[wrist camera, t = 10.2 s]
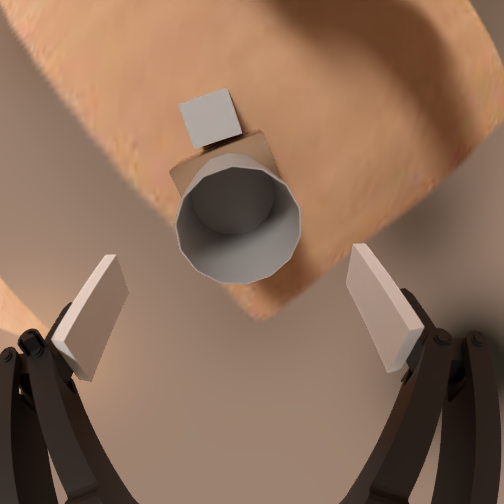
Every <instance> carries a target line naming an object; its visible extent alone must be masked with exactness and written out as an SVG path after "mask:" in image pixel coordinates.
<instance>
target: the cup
mask: <svg viewBox="0 0 504 504" xmlns="http://www.w3.org/2000/svg"><path fill="white" fill-rule="evenodd" d="M174 225H175V230H176V235H177V240H178V244H179V249H180V252H181V253H182V254H183V255H184V257H185V258H186V259H187V260H188V262H189V263H190V264H191V265H192V267H193V268H194V269H195V270H196V271H197V272H199V273H201V274H203V275H205V276H207V277H209V278H211V279H213V280H215V281H217V282H219V283H228V284H244V285H246V284H249V283H252V282H255V281H258V280H261V279H264V278H267V277H270V276H272V275H273V274H274V273H275V272H276V271H277V270H278V269H280V268H281V267H282V266H283V265H284V264H285V263H286V262H288V261H289V260H290V259H291V257H292V255H293V252H294V250H295V248H296V246H297V244H298V241H299V239H300V237H301V208H300V207H299V205H298V203H297V201H296V199H295V197H294V196H293V194H292V192H291V190H290V188H289V187H288V185H287V184H286V183H285V182H284V181H283V180H281V179H280V178H279V177H278V176H276V175H275V174H274V173H273V172H272V171H270V170H269V169H268V168H267V167H265V166H264V165H263V164H261V163H260V162H258V161H256V160H255V159H253V158H252V157H250V156H249V155H244V154H235V153H226V154H223V155H221V156H218V157H215V158H212V159H210V160H209V161H208V162H207V163H206V164H205V165H204V166H203V167H202V168H201V169H200V170H199V171H198V172H197V173H196V175H195V176H194V178H193V180H192V181H191V183H190V185H189V186H188V188H187V190H186V191H185V193H184V195H183V197H182V199H181V203H180V206H179V210H178V213H177V217H176V220H175V224H174Z"/></svg>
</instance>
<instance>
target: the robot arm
mask: <svg viewBox="0 0 504 504" xmlns="http://www.w3.org/2000/svg"><path fill="white" fill-rule="evenodd" d="M346 286H347V288H348V290H349V292H350V294H351V296H352V298H353V300H354V302H355V304H356V306H357V308H358V310H359V312H360V315H361V316H362V318H363V321H364V323H365V325H366V327H367V329H368V331H369V333H370V336H371V338H372V340H373V342H374V344H375V346H376V349H377V351H378V353H379V356H380V358H381V360H382V362H383V365H384V367H385V369H386V371H387V373H389V372H393V371H397V370H401V369H402V367H403V366H404V364H405V362H407V364H408V366H409V369H408V370H407V372H406V373H405V375H404V377H403V378H402V380H401V382H403V384H402V386H401V389H400V391H399V394H398V397H397V399H396V402H395V404H394V407H393V409H392V411H391V414H390V416H389V418H388V421H387V423H386V425H385V427H384V429H383V431H382V433H381V436H380V438H379V440H378V442H377V444H376V446H375V447H374V450H373V451H372V453H371V455H370V457H369V459H368V461H367V462H366V464H365V466H364V468H363V469H362V471H361V473H360V474H359V476H358V478H357V479H356V481H355V483H354V484H353V486H352V487H351V489H350V490H349V492H348V494H347V495H346V496H345V498H344V499H343V500H342V501H341V502H340V503H339V504H409V502H408V498H409V496H410V494H411V491H412V489H413V487H414V485H415V483H416V481H417V478H418V476H419V474H420V471H421V469H422V467H423V464H424V462H425V459H426V456H427V454H428V451H429V448H430V445H431V442H432V439H433V436H434V433H435V430H436V426H437V423H438V420H439V416H440V412H441V409H442V431H441V443H440V453H439V462H438V469H437V475H436V481H435V487H434V492H433V497H432V501H431V504H497V498H498V491H499V481H500V470H501V423H500V410H499V401H498V392H497V385H496V379H495V374H494V368H493V363H492V358H491V353H490V349H489V346H488V341H487V339H486V337H485V336H484V335H483V334H482V333H481V332H479V331H476V330H471V331H469V332H468V333H467V335H466V337H465V338H452V336H451V335H450V334H449V333H448V332H447V331H445V330H444V329H440V328H436V327H435V326H434V324H433V323H432V321H431V319H430V318H429V317H428V315H427V314H426V312H425V311H424V309H422V306H421V305H420V304H419V303H418V301H417V300H416V298H415V297H414V295H413V294H412V293H410V292H409V291H408V290H407V289H405V288H404V289H399V288H398V287H397V285H396V284H395V283H394V281H393V280H392V278H391V277H390V275H389V274H388V273H387V271H386V270H385V269H384V267H383V266H382V265H381V263H380V262H379V261H378V259H377V258H376V257H375V255H374V254H373V253H372V252H371V250H370V249H369V248H368V246H367V245H366V244H365V243H360V244H353V246H352V252H351V258H350V264H349V269H348V274H347V279H346ZM128 294H129V292H128V289H127V286H126V283H125V280H124V277H123V274H122V271H121V267H120V264H119V261H118V258H117V255H105V256H104V258H103V259H102V260H101V262H100V263H99V265H98V266H97V268H96V269H95V270H94V272H93V273H92V274H91V276H90V277H89V279H88V280H87V282H86V283H85V285H84V286H83V288H82V289H81V291H80V292H79V294H78V295H77V297H76V298H75V300H74V301H73V302H70V303H69V304H68V305H67V306H66V307H65V308H64V309H63V310H62V312H61V313H60V315H59V317H58V318H57V320H56V321H55V322H56V323H54V325H53V326H52V328H51V330H50V331H49V333H48V335H47V336H46V338H45V340H44V339H43V337H42V336H41V334H40V333H39V331H38V330H37V329H29V330H27V331H25V332H24V333H23V334H22V335H21V336H20V337H19V339H18V346H19V347H20V349H21V350H22V351H23V354H19V353H18V352H17V351H16V349H15V348H13V347H8V348H6V349H4V350H3V351H2V352H1V354H0V504H58V500H57V496H56V493H55V488H54V484H53V479H52V474H51V469H50V463H49V456H48V451H49V454H50V456H51V459H52V462H53V464H54V467H55V469H56V472H57V474H58V476H59V479H60V481H61V483H62V485H63V487H64V490H65V492H66V494H67V497H68V500H67V501H66V502H65V504H139V503H138V502H136V500H135V499H134V498H133V497H132V495H131V494H130V492H129V491H128V490H127V488H126V486H125V485H124V483H123V482H122V481H121V479H120V477H119V476H118V474H117V472H116V471H115V469H114V467H113V466H112V464H111V462H110V460H109V458H108V457H107V455H106V453H105V451H104V449H103V447H102V445H101V444H100V441H99V439H98V437H97V435H96V434H95V431H94V429H93V427H92V425H91V423H90V420H89V418H88V416H87V414H86V411H85V409H84V407H83V404H82V401H81V399H80V396H79V394H78V391H77V389H76V386H75V383H74V381H73V379H72V378H71V376H72V374H73V372H74V373H75V375H76V376H77V377H78V378H79V379H80V380H85V381H90V382H92V379H93V377H94V374H95V371H96V369H97V366H98V364H99V361H100V358H101V356H102V353H103V351H104V348H105V346H106V344H107V341H108V339H109V336H110V334H111V332H112V329H113V327H114V325H115V323H116V320H117V318H118V316H119V313H120V311H121V309H122V307H123V305H124V303H125V301H126V299H127V296H128ZM19 388H20V389H21V394H19ZM47 448H48V449H47Z"/></svg>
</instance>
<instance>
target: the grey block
mask: <svg viewBox="0 0 504 504" xmlns="http://www.w3.org/2000/svg"><path fill="white" fill-rule="evenodd" d="M179 108H180V111H181V114H182V117H183V119H184V122H185V125H186V128H187V131H188V133H189V136H190V139H191V142H192V144H193V147H194V149H197V148H200V147H202V146H205V145H208V144H211V143H214V142H217V141H220V140H223V139H226V138H229V137H232V136H236V135H239V134H242V130H241V127H240V124H239V121H238V118H237V115H236V112H235V109H234V106H233V103H232V100H231V97H230V94H229V91H228V89H227V88H224V89H221V90H218V91H215V92H212V93H209V94H206V95H203V96H200V97H197V98H195V99H192V100H189V101H187V102H184V103H181V104H179Z"/></svg>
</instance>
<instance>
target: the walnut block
mask: <svg viewBox="0 0 504 504" xmlns="http://www.w3.org/2000/svg"><path fill="white" fill-rule="evenodd" d="M226 153H235V154H244V155H249V156H250V157H252V158H253V159H255V160H256V161H258V162H260V163H261V164H263V165H264V166H265V167H267V168H268V169H269V170H270V171H272V172H273V173H274V174H275V175H276V176H278V177H279V178H280V176H279V173H278V170H277V167H276V165H275V162H274V159H273V157H272V154H271V151H270V149H269V146H268V143H267V141H266V138H265V135H264V133H263V132H262V131H261V130H259V129H258V130H255V131H252V132H250V133H247V134H244V135H242V136H239V137H236V138H234V139H231V140H229V141H226V142H224V143H221V144H219V145H216V146H214V147H212V148H209V149H207V150H204V151H202V152H200V153H198V154H195V155H193V156H191V157H189V158H186V159H184V160H182V161H180V162H179V163H178V164H177V165H176V166H174V167H173V168H172V169H171V170H170V171H169V173H170V175H171V177H172V179H173V181H174V183H175V185H176V187H177V189H178V191H179V193H180V195H181V197H183V195H184V193H185V191H186V190H187V188H188V186H189V185H190V183H191V181H192V180H193V178H194V176H195V175H196V173H197V172H198V171H199V170H200V169H201V168H202V167H203V166H204V165H205V164H206V163H207V162H208V161H209V160H210V159H212V158H215V157H218V156H221V155H223V154H226ZM280 179H281V178H280Z"/></svg>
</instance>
